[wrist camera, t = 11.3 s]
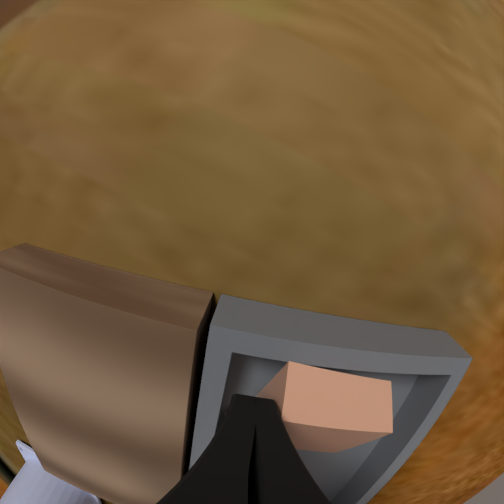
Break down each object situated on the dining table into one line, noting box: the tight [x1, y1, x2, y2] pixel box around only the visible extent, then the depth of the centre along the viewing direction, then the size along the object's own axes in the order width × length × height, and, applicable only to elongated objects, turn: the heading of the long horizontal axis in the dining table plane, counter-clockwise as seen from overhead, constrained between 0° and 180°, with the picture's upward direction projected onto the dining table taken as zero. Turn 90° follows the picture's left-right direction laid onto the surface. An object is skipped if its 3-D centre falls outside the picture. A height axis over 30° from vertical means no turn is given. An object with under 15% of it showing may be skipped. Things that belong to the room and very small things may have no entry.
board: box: [0, 243, 213, 504], centre depth 11 cm, size 15×10×3 cm, turn 169°
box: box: [189, 294, 473, 504], centre depth 12 cm, size 15×10×2 cm
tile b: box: [255, 361, 393, 453], centre depth 10 cm, size 4×4×2 cm
